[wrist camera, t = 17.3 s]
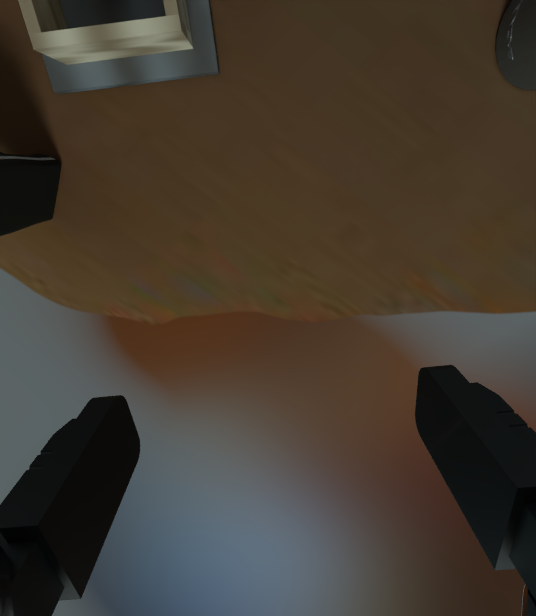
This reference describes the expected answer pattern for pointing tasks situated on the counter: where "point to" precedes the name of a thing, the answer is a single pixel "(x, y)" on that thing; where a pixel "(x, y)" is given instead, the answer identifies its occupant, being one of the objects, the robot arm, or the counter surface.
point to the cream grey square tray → (121, 41)
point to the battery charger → (27, 190)
